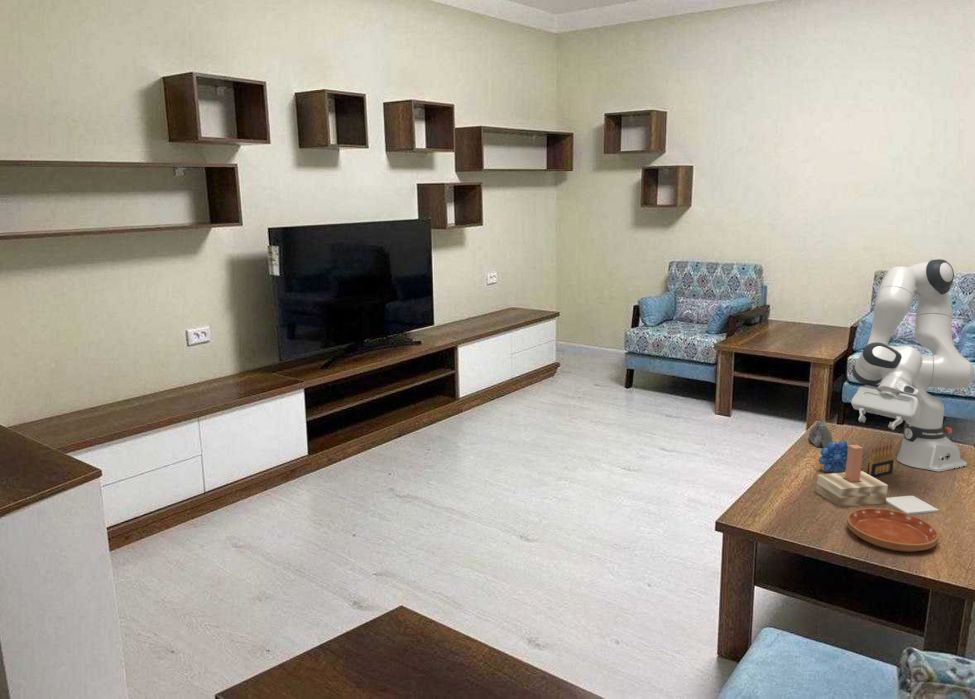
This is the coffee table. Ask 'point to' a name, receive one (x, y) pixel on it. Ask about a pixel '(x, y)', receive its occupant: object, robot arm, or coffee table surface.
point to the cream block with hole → (851, 490)
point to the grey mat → (910, 505)
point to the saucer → (892, 529)
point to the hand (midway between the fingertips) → (875, 424)
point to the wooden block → (853, 463)
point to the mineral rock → (820, 434)
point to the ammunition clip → (881, 460)
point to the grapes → (834, 456)
